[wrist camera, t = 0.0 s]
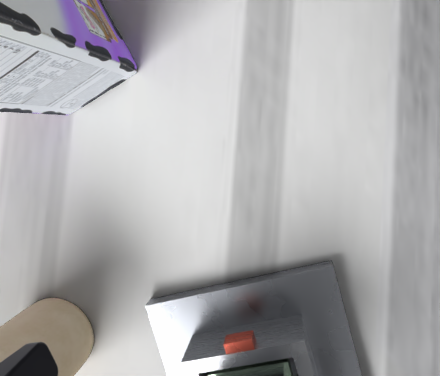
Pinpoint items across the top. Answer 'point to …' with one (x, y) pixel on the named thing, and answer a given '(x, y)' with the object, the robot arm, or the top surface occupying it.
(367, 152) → the top surface
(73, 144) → the top surface
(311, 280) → the stand base
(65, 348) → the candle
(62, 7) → the candy box
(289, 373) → the column
